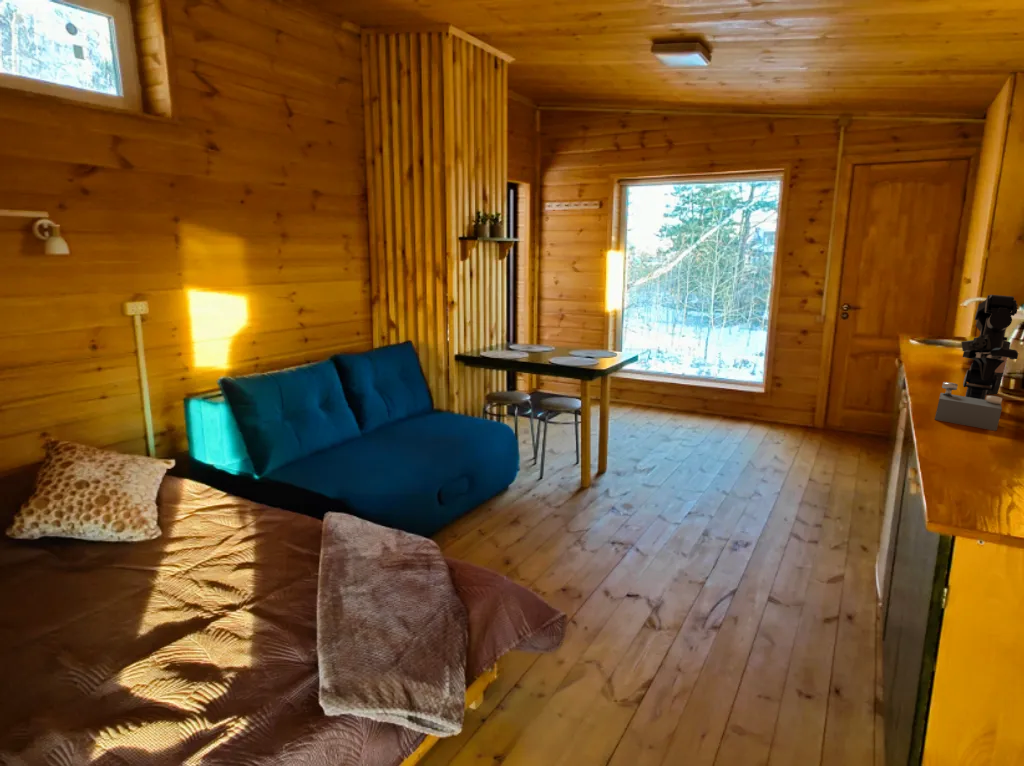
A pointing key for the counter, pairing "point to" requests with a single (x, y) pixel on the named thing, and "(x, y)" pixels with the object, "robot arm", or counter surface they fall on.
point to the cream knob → (994, 399)
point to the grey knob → (949, 387)
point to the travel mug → (1000, 370)
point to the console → (968, 411)
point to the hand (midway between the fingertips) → (984, 379)
